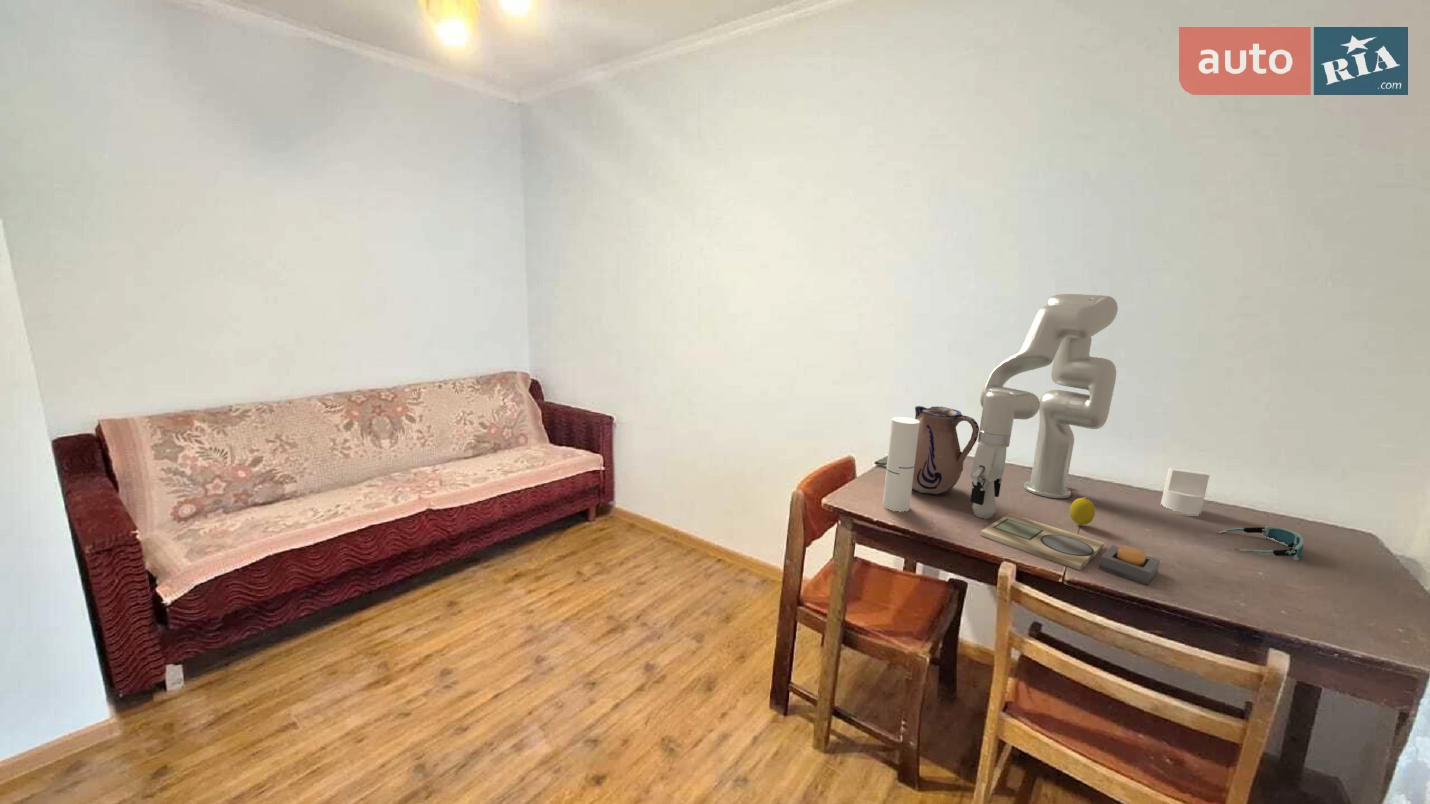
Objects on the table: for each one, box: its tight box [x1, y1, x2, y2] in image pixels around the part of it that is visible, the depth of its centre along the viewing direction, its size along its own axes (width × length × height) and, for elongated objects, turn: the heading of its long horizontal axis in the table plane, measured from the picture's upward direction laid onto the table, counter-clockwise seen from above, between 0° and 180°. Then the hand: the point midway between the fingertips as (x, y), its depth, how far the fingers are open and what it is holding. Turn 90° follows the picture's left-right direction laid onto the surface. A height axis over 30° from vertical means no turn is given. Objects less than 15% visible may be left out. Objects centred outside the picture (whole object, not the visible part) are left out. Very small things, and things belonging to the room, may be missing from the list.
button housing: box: [1098, 544, 1161, 586], centre depth 125 cm, size 9×9×3 cm
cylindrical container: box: [882, 416, 920, 513], centre depth 154 cm, size 7×7×25 cm
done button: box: [1117, 545, 1147, 567], centre depth 125 cm, size 5×5×2 cm
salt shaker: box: [971, 477, 997, 520], centre depth 152 cm, size 6×6×13 cm
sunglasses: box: [1223, 525, 1305, 560], centre depth 141 cm, size 14×15×5 cm
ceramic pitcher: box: [912, 405, 980, 495], centre depth 168 cm, size 18×21×25 cm
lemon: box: [1069, 497, 1096, 527], centre depth 148 cm, size 6×6×8 cm
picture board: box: [979, 512, 1105, 571], centre depth 139 cm, size 18×22×1 cm
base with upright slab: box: [1160, 467, 1210, 514], centre depth 161 cm, size 9×9×12 cm
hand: (984, 499), depth 152 cm, fingers open, 9 cm apart
